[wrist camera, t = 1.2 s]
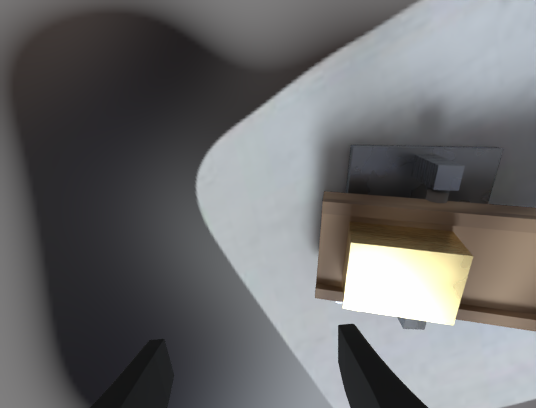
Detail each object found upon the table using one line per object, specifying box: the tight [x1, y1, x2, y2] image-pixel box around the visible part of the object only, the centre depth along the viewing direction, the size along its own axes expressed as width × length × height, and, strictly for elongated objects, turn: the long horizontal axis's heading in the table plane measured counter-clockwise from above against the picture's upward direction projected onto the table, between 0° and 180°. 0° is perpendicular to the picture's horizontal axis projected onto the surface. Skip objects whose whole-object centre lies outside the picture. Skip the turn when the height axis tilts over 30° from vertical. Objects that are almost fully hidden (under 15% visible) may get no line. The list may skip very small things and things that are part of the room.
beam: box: [315, 188, 536, 331], centre depth 19 cm, size 18×8×3 cm, turn 89°
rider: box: [343, 221, 473, 325], centre depth 18 cm, size 6×4×3 cm
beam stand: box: [335, 145, 503, 329], centre depth 21 cm, size 10×13×4 cm
